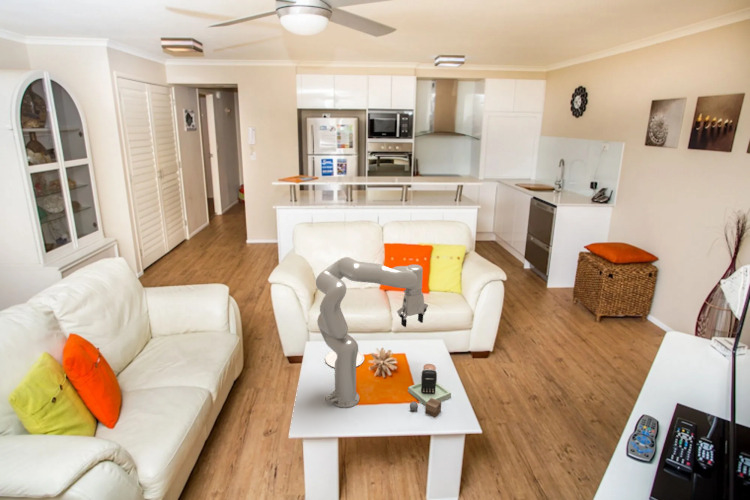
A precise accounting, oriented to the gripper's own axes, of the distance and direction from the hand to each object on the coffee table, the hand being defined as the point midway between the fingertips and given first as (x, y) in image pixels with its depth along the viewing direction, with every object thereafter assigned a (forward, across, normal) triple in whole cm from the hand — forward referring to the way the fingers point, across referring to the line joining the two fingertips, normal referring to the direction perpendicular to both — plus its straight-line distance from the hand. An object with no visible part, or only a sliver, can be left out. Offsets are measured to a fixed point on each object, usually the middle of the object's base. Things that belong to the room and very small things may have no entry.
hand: (412, 323), depth 213 cm
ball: (+28, -14, -24) cm, 39 cm away
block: (+28, -8, -29) cm, 41 cm away
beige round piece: (+28, +7, -7) cm, 30 cm away
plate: (+29, -22, +29) cm, 46 cm away
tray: (+28, -2, -18) cm, 33 cm away
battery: (+27, -2, -18) cm, 33 cm away
